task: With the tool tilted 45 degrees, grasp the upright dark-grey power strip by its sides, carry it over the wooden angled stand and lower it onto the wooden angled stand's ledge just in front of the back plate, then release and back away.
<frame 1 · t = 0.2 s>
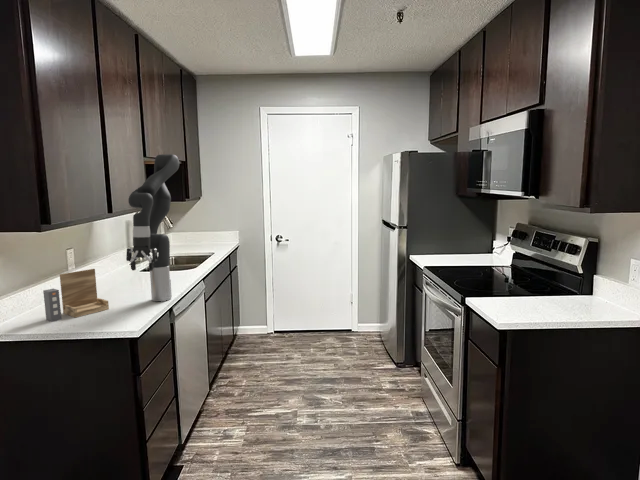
hand: (142, 270, 196), 18 cm above the worktop, tool pointing down, fingers open, 8 cm apart
wooden angled stand: (87, 311, 192), on the worktop
power strip: (53, 319, 181), on the worktop
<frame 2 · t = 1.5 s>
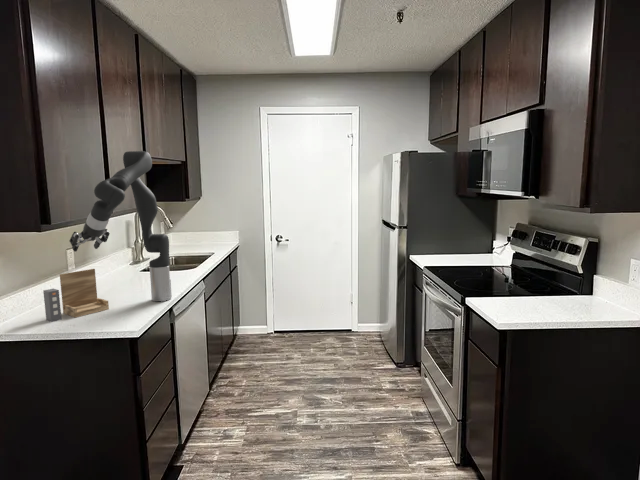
hand: (85, 248, 177), 31 cm above the worktop, tool tilted 45°, fingers open, 8 cm apart
nothing on the worktop moved.
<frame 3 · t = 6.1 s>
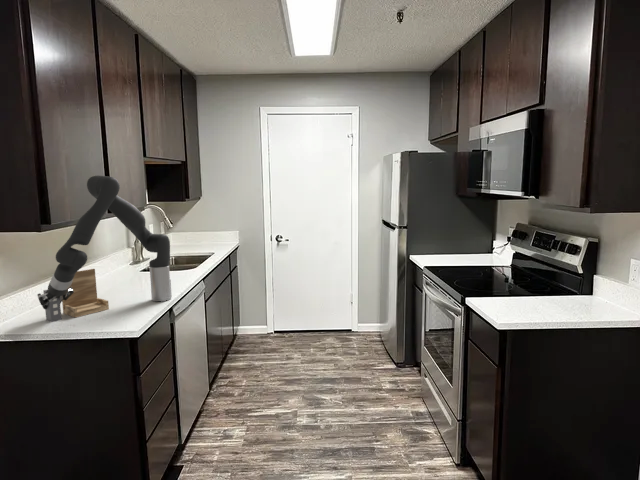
hand: (50, 306, 181), 6 cm above the worktop, tool tilted 45°, fingers closed on power strip, 4 cm apart
power strip: (53, 319, 181), on the worktop, touching gripper
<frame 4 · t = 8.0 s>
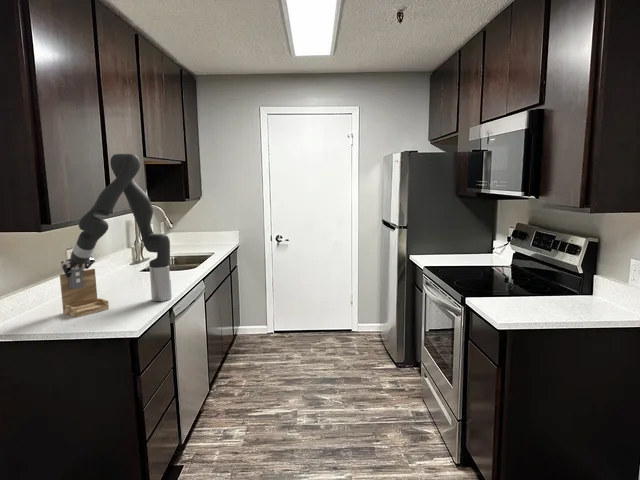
hand: (72, 274, 189), 17 cm above the worktop, tool tilted 45°, fingers closed on power strip, 4 cm apart
power strip: (76, 287, 189), point 12 cm above the worktop, touching gripper
when the fingers open (9 cm above the worktop, at t = 10.4 s): power strip drops 1 cm, resting on wooden angled stand.
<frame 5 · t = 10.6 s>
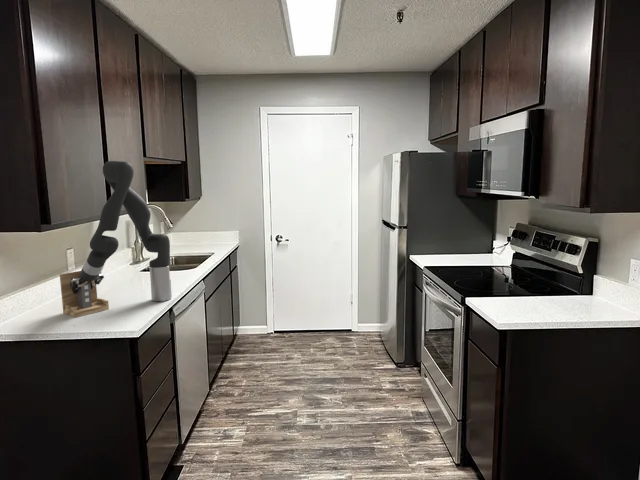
hand: (81, 290, 193), 9 cm above the worktop, tool tilted 45°, fingers open, 6 cm apart
power strip: (85, 306, 193), point 2 cm above the worktop, touching wooden angled stand
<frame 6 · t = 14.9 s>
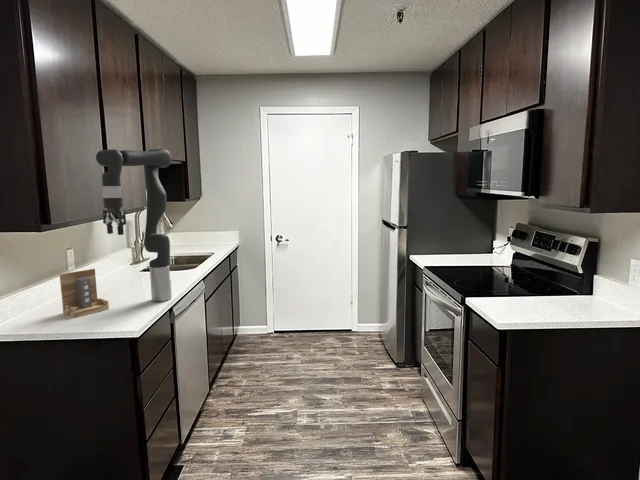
hand: (115, 234, 182), 36 cm above the worktop, tool pointing down, fingers open, 8 cm apart
nothing on the worktop moved.
at the end: power strip inside the target area on the wooden angled stand (0.3 cm from its centre), point 2.0 cm above the wooden angled stand's base; power strip tilted 0°; the gripper is holding nothing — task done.
